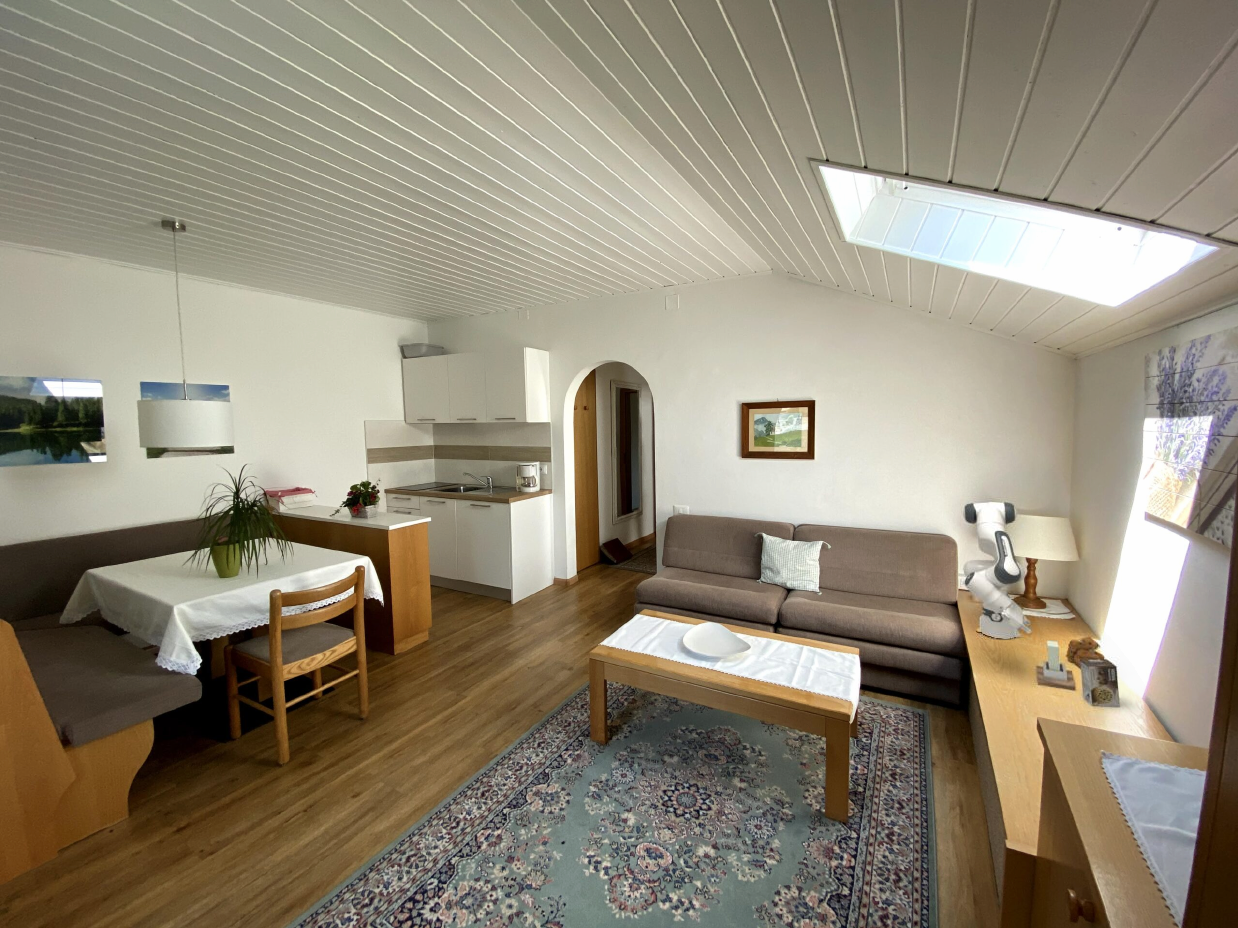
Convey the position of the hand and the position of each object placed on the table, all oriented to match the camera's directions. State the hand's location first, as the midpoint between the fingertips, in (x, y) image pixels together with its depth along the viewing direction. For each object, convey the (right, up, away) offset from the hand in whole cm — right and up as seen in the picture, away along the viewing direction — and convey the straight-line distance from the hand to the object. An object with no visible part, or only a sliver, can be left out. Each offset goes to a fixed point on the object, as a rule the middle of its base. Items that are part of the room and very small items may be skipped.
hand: (1030, 628), depth 227 cm
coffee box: (+9, -22, -23) cm, 33 cm away
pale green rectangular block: (+8, -19, -3) cm, 21 cm away
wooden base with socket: (+8, -21, -4) cm, 22 cm away
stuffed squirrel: (+29, -18, +6) cm, 34 cm away
